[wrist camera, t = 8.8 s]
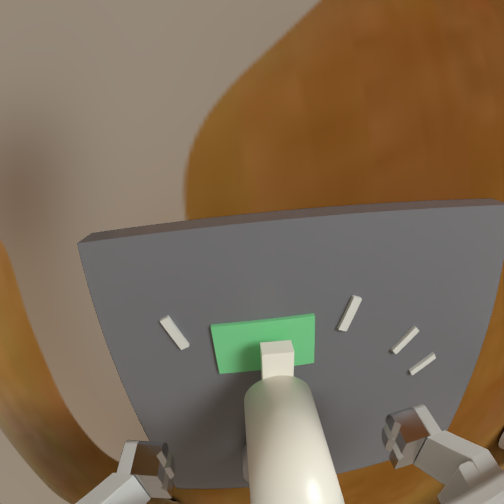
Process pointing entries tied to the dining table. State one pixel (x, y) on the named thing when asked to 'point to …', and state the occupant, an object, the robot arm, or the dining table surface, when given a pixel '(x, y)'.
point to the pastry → (161, 501)
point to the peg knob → (285, 436)
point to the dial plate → (296, 320)
